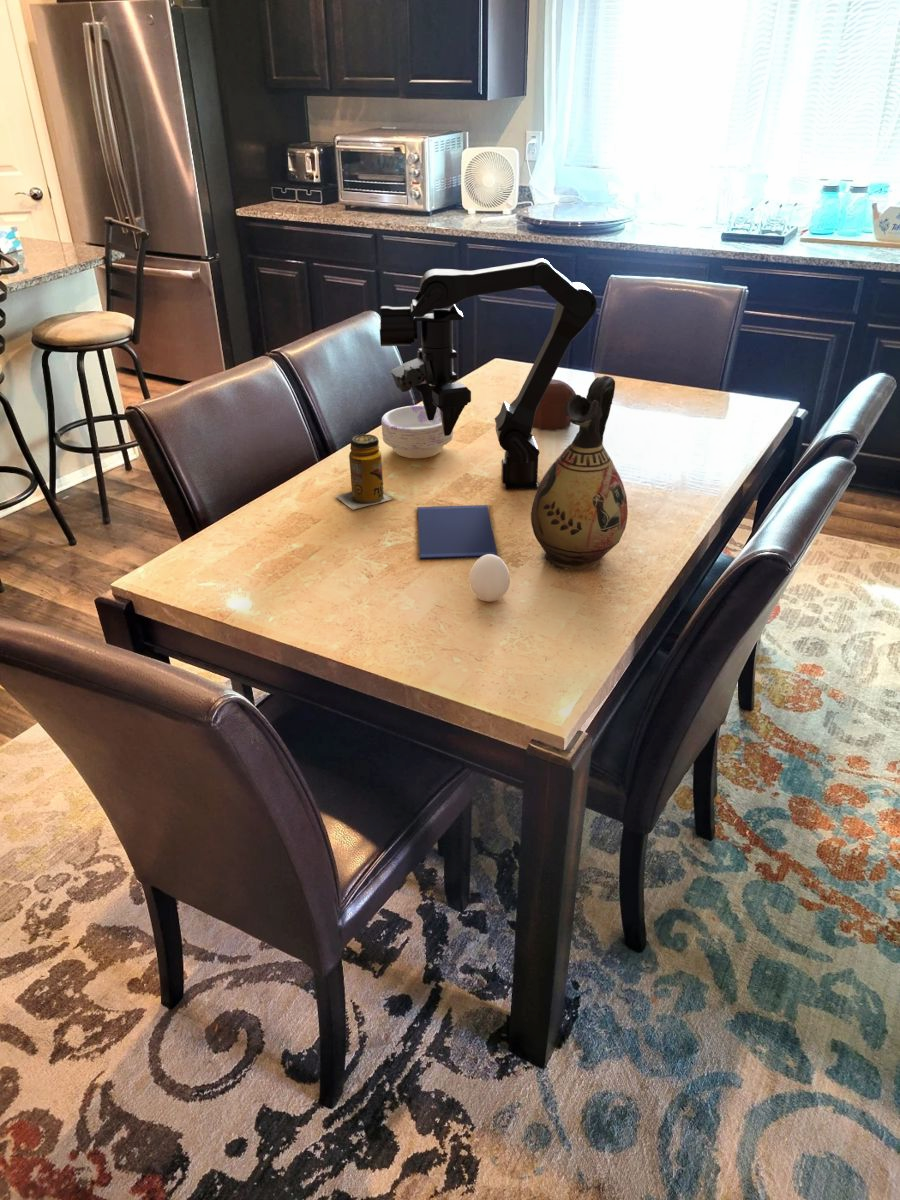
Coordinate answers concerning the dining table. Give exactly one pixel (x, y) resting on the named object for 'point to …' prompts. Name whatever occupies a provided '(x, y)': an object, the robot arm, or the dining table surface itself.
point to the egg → (489, 578)
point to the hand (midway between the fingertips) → (438, 427)
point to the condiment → (365, 473)
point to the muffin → (553, 407)
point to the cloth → (455, 532)
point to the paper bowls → (414, 432)
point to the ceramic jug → (582, 489)
